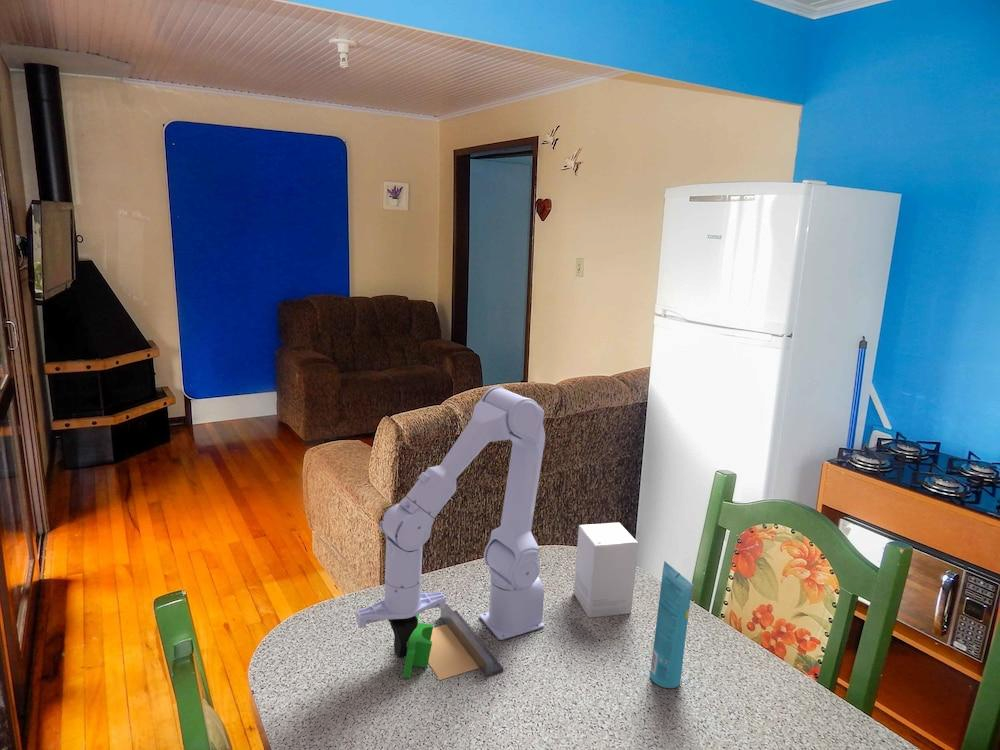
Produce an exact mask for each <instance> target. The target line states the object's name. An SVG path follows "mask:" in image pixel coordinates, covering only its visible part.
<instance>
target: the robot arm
mask: <svg viewBox="0 0 1000 750" xmlns="http://www.w3.org/2000/svg"><path fill="white" fill-rule="evenodd" d="M472 412H473V413H472V416H471V418H470V420H469V422H468V423H467V425H466V427H464V429H463V430H462V432H461V433H460V435H459V437H458V438H457V440H456V441H455V442H454V443H453V445H452V447H451V448H450V449H449V451H448V452H447V453H446V455H445V457H444V458H443V460H441V463H440V464H439V465H434V466H430V467H428V468H427V469H426V470H425V471H421V473H420V475H419V476H418V477H417V479H418V480H417V482H415V484H414V485H413V487H411V489H410V490H409V492H408V493H407V494H406V496H404V498H402V499H401V500H400V501H399V503H397V504H394V505H393V506H391V507H390V508H389V509H387V510H386V512H385V513H384V516H383V518H382V520H381V521H379V528H380V530H381V532H382V534H384V535H385V537H386V538H385V539H386V541H385V563H384V564H385V569H384V571H385V572H384V574H385V575H384V599H381V600H379V601H378V602H375V603H373V604H371V605H369V606H367V607H365V608H361V609H358V610H356V613H355V614H356V615H355V619H356V620H355V622H356V624H357V625H358V628H359V629H362V628H366V627H367V625H369V624H372V623H377V622H381V621H386V620H387V621H388V622H389V624H390V627H391V629H392V631H393V634H394V639H393V651H394V653H395V655H396V657H397V659H399V660H400V659H403V658H405V657H406V654H407V642H408V640H409V638H410V636H411V634H412V633H413V631H414V630H415V628H416V627H417V625H418V623H419V618H418V619H417V617H416V616H415V615H417V614H419V615H420V614H421V613H423V612H425V611H427V610H431V609H435V608H437V609H439V610H441V609H442V608H445V604H446V600H447V599H446V598H447V597H446V596H445V595H444V593H443V592H442V591H437V592H424V593H423V592H421V590H422V589H421V588H422V570H423V569H422V566H423V565H422V564H423V545H425V543H427V541H428V540H429V539H430V536H431V533H432V526H433V524H434V523H435V522H434V521H435V518H436V516H437V515H438V514H439V513H440V512H441V510H442V509H443V508H444V506H446V504H447V503H448V501H449V500H450V499H451V498H452V496H453V495H454V494H455V492H456V491H457V478H458V477H459V476H460V475H461V474H462V473H463V471H465V469H467V467H468V466H469V465H470V464H471V463H472V461H473V460H474V459H475V458H476V457H477V456H478V455H479V454H480V452H481V451H482V450H483V449H484V448H485V447H486V446H487V445H488V443H490V442H491V443H493V442H499V441H508V440H510V441H511V443H512V444H511V451H510V452H511V453H510V457H509V458H510V459H509V465H508V472H507V479H506V487H505V492H504V493H505V494H504V501H503V507H502V513H501V519H500V526H498V527H496V528H494V529H493V530H491V532H490V538H489V540H488V542H487V545H486V546H485V548H484V552H483V561H484V563H485V565H486V566H488V567H489V575H490V584H489V606H488V607H489V609H488V611H486V612H484V613H481V614H479V619H480V620H482V622H483V623H484V624H485V625H486V626H487V628H488V629H489V630H490V631H491V632H492V633H493V635H494V636H495V637H496V638H497V639H498V641H499V640H500V641H502V640H506V639H510V638H512V637H516V636H520V635H522V634H526V633H528V632H533V631H536V630H540V629H543V628H544V627H545V623H544V622H543V612H544V611H543V610H544V600H545V599H544V598H545V592H544V591H545V590H544V584H543V583H542V579H541V578H540V577H539V575H540V572H541V563H540V560H539V558H540V557H539V553H540V547H539V544H538V543H537V541H536V539H535V537H534V535H533V533H532V526H533V521H534V513H535V507H536V501H537V495H538V487H539V481H540V475H541V470H542V469H541V467H542V464H543V463H542V462H543V456H544V451H545V450H544V449H545V442H546V432H545V428H544V417H545V410H544V409H543V408H542V406H540V405H539V404H538V402H536V401H535V399H532V398H529V397H524V396H522V395H520V394H518V393H515V392H512V391H510V390H508V389H506V388H505V387H502V386H492V387H490V388H489V389H487V390H486V391H485V392H484V394H482V397H481V399H480V400H479V401H478V402H477V403H476V404H475V405H474V407H473V411H472Z"/></svg>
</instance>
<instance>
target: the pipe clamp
mask: <svg viewBox="0 0 1000 750" xmlns="http://www.w3.org/2000/svg"><path fill="white" fill-rule="evenodd" d="M415 616H416V617H417V619H418V620H419V617H420V613H419V614H417V615H415ZM433 628H434V624H431V623H423V622H418V625H417V627H416V628H415V630H414V631H413V633H412V634H411V636H410V638H409V640H408V642H407V654H406V657H404V658H405V659H404V667H403V674H402V675H403V676H402V678H408V679H410V678H411V673H412V670H413V669H412V668H413V667H419V668H428V666H429V663H428V661H429V656H430V651H431V646H432V641H430V640H431V635H432V630H433Z"/></svg>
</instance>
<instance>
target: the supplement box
mask: <svg viewBox="0 0 1000 750" xmlns="http://www.w3.org/2000/svg"><path fill="white" fill-rule="evenodd" d="M577 533H578V534H577V542H576V543H577V545H576V547H577V548H576V556H575V557H576V559H575V570H574V571H575V573H574V585H573V595H574V596H575V598H576V599H577V601H578V603H580V607H582V609H583V611H584V612H585V613H586V616H587V617H588V618H590V619H591V618H597V617H599V618H600V617H608V616H609V617H610V616H617V615H619V616H620V615H629V613H630V615H631V614H632V610H633V609H632V608H633V597H634V589H635V588H634V587H635V579H636V571H637V570H636V569H637V560H638V552H639V551H638V550H639V542H638V541H637V539H635V538H634V537H633V535H632V534H631V533H630V532H629V531H628V530H627V529H626V528H625V527H624V526H623V525H622V523H620V522H605V523H592V524H591V523H590V524H586V523H585V524H579V525H578V531H577Z"/></svg>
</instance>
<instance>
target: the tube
mask: <svg viewBox="0 0 1000 750" xmlns="http://www.w3.org/2000/svg"><path fill="white" fill-rule="evenodd" d="M693 587H694V583H692V582H690V580H688V579H687V578H686V577H685V576H684V575H682V574H681V573H680V572H679V571H678V570H676V569H675V568H674V567H673V566H672V565H670V564H669V563H668V562H667V561H666V560H663V566H662V576H661V583H660V590H659V601H658V606H657V607H658V609H657V614H656V615H657V616H656V624H655V632H654V633H655V634H654V642H653V648H652V655H651V662H650V663H651V664H650V671H649V677H650V680H651V681H652V682H653V683H654V684H656V686H659V687H661V688H665V689H674V688H677V687H678V686H680V684H681V680H682V672H683V663H684V662H683V661H684V654H685V645H686V638H687V628H688V622H689V614H690V605H691V598H692V591H693Z"/></svg>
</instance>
